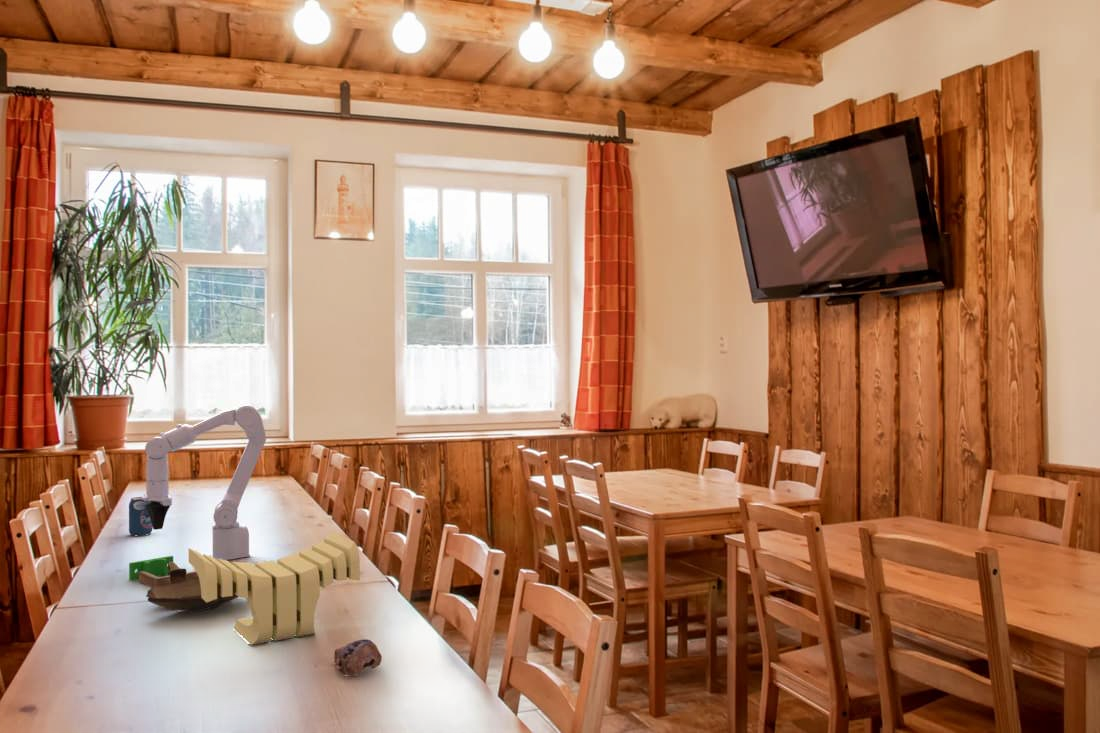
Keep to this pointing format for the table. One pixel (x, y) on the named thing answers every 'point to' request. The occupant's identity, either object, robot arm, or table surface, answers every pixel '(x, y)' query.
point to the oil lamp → (183, 593)
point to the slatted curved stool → (279, 586)
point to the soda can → (139, 517)
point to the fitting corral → (162, 578)
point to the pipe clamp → (150, 567)
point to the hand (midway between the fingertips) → (157, 528)
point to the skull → (357, 657)
